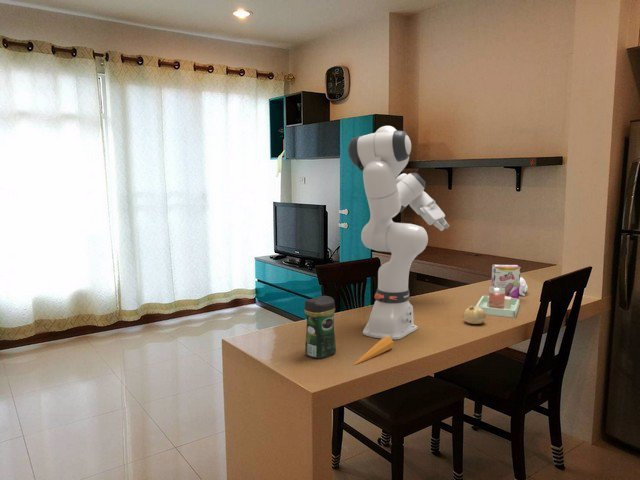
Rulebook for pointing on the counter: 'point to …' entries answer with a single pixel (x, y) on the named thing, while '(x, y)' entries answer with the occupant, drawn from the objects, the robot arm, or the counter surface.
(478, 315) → the onion
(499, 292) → the pink glass candle
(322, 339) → the coffee jar
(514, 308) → the mint green tray
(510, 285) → the candy bar box
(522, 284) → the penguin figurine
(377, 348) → the carrot
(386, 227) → the robot arm
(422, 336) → the counter surface
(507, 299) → the cream rectangular block
